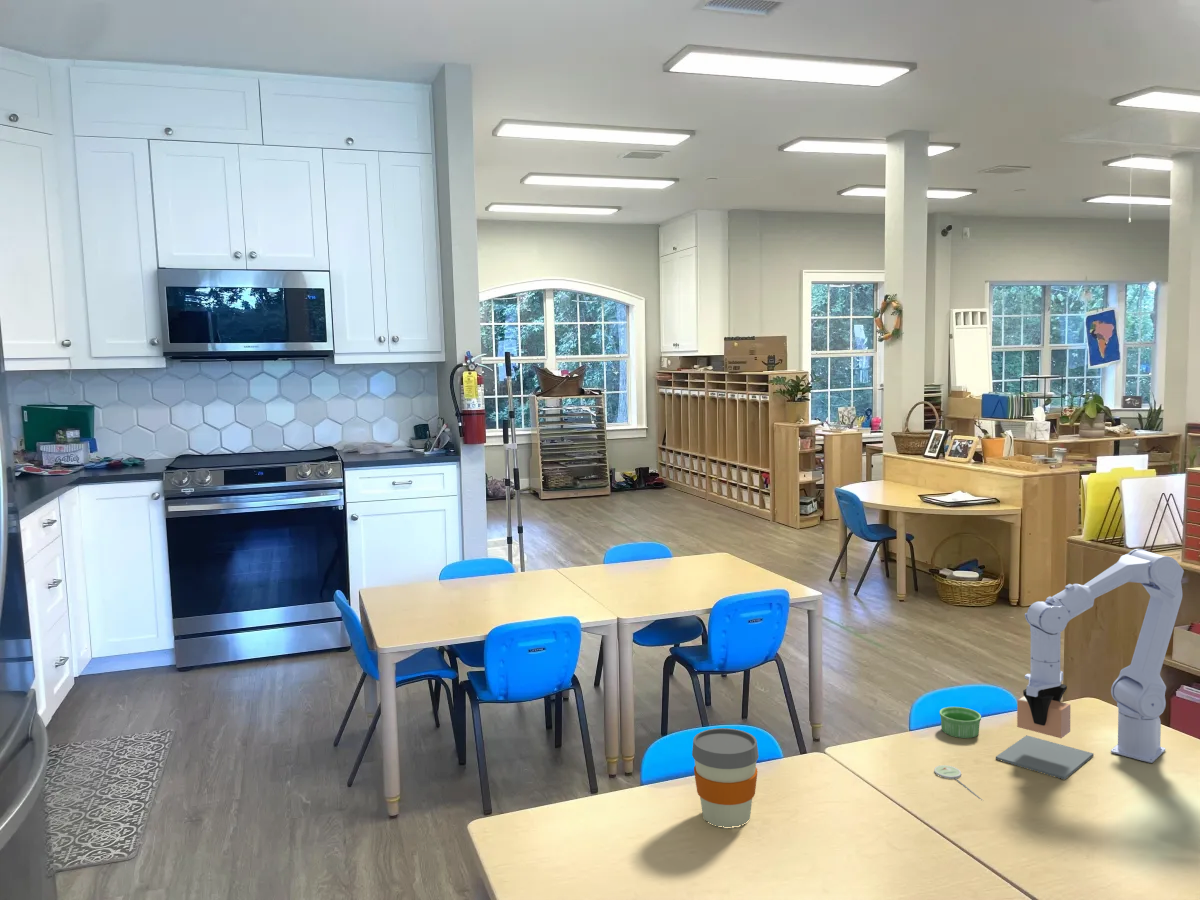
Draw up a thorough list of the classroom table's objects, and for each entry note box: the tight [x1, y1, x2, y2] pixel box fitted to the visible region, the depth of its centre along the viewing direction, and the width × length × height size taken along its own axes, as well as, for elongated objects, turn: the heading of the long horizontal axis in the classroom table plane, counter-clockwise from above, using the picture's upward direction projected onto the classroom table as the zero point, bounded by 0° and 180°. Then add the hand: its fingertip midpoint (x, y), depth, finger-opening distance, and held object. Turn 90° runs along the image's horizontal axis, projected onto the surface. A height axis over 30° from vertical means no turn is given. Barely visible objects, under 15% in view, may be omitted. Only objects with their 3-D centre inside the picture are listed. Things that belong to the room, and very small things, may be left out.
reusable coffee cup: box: [691, 727, 760, 827], centre depth 166 cm, size 13×13×15 cm
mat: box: [995, 735, 1094, 780], centre depth 187 cm, size 16×14×1 cm
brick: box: [1016, 695, 1071, 739], centre depth 187 cm, size 9×5×6 cm, turn 42°
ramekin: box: [939, 706, 982, 739], centre depth 202 cm, size 9×9×4 cm
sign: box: [934, 764, 983, 801], centre depth 177 cm, size 5×1×15 cm
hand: (1044, 720), depth 187 cm, fingers closed on brick, 5 cm apart
